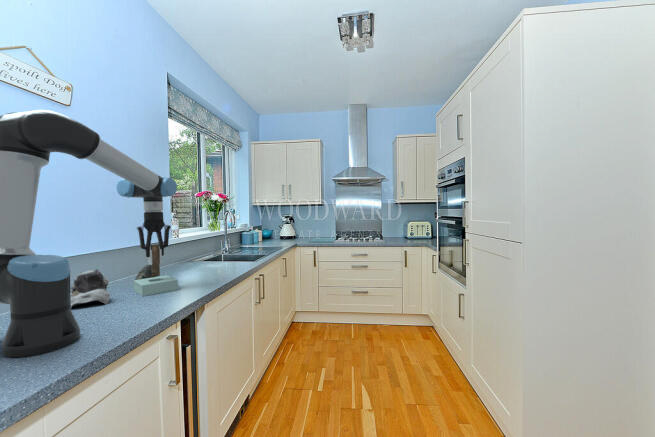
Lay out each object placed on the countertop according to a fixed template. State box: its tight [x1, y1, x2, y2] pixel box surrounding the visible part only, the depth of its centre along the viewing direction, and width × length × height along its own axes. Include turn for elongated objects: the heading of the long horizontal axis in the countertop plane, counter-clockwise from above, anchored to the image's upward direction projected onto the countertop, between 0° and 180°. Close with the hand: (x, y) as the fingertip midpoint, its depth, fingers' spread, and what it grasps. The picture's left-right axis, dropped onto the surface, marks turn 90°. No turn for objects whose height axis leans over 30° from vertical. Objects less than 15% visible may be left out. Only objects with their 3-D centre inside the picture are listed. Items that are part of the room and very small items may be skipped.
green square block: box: [133, 274, 179, 297], centre depth 135 cm, size 14×14×4 cm
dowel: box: [150, 244, 161, 277], centre depth 135 cm, size 3×3×14 cm
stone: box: [70, 269, 111, 309], centre depth 116 cm, size 14×10×15 cm
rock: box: [132, 264, 153, 285], centre depth 144 cm, size 12×10×10 cm
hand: (155, 263), depth 135 cm, fingers closed on dowel, 3 cm apart
